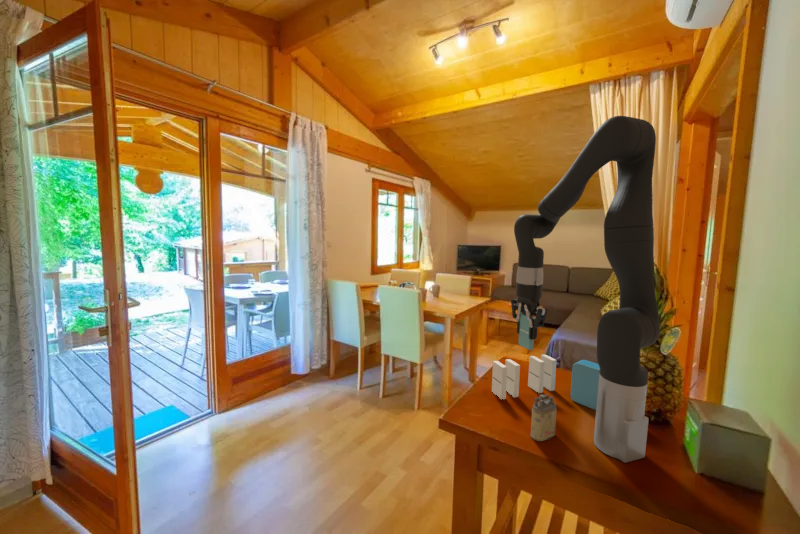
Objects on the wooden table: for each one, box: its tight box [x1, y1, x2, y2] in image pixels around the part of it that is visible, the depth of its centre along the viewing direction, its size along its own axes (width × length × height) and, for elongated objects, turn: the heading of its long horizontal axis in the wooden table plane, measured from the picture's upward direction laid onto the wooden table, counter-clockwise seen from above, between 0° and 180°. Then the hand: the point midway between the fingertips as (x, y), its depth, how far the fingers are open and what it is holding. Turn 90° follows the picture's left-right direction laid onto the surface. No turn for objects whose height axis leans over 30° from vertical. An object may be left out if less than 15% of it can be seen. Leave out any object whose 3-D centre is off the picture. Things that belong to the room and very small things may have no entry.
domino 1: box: [491, 360, 507, 400], centre depth 103 cm, size 2×5×10 cm, turn 18°
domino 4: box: [527, 355, 545, 394], centre depth 107 cm, size 2×5×10 cm, turn 18°
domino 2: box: [504, 358, 521, 398], centre depth 104 cm, size 2×5×10 cm, turn 18°
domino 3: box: [517, 314, 535, 351], centre depth 104 cm, size 2×5×10 cm, turn 18°
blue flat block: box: [570, 359, 600, 411], centre depth 97 cm, size 12×4×12 cm, turn 38°
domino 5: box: [540, 354, 557, 392], centre depth 108 cm, size 2×5×10 cm, turn 18°
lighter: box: [530, 393, 558, 442], centre depth 83 cm, size 7×4×10 cm, turn 120°
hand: (526, 336), depth 104 cm, fingers closed on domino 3, 5 cm apart
